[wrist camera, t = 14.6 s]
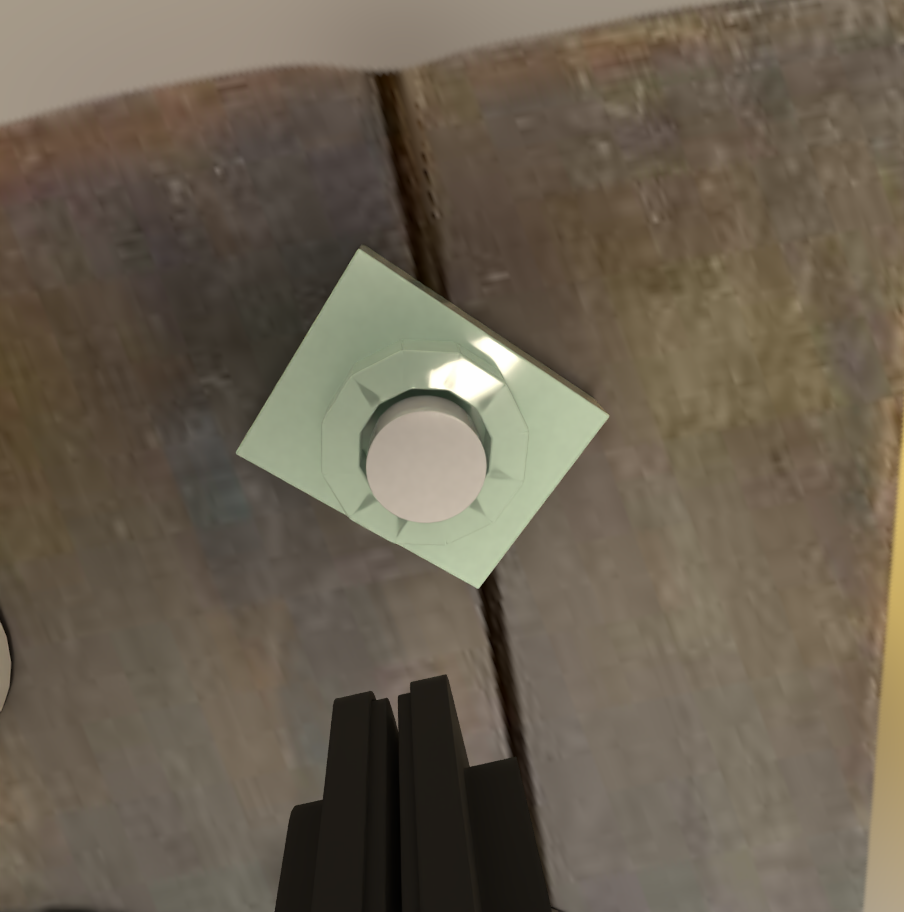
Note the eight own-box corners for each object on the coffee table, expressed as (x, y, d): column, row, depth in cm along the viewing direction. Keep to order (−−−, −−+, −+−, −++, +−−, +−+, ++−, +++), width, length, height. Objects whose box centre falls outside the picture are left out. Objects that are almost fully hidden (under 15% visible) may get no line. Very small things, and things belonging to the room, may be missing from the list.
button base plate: (247, 433, 26) (221, 474, 22) (362, 243, 24) (354, 252, 20) (473, 561, 28) (483, 617, 25) (594, 398, 26) (626, 433, 23)
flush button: (347, 465, 23) (342, 486, 21) (407, 372, 22) (408, 387, 20) (441, 519, 24) (443, 543, 22) (502, 432, 23) (510, 451, 21)
